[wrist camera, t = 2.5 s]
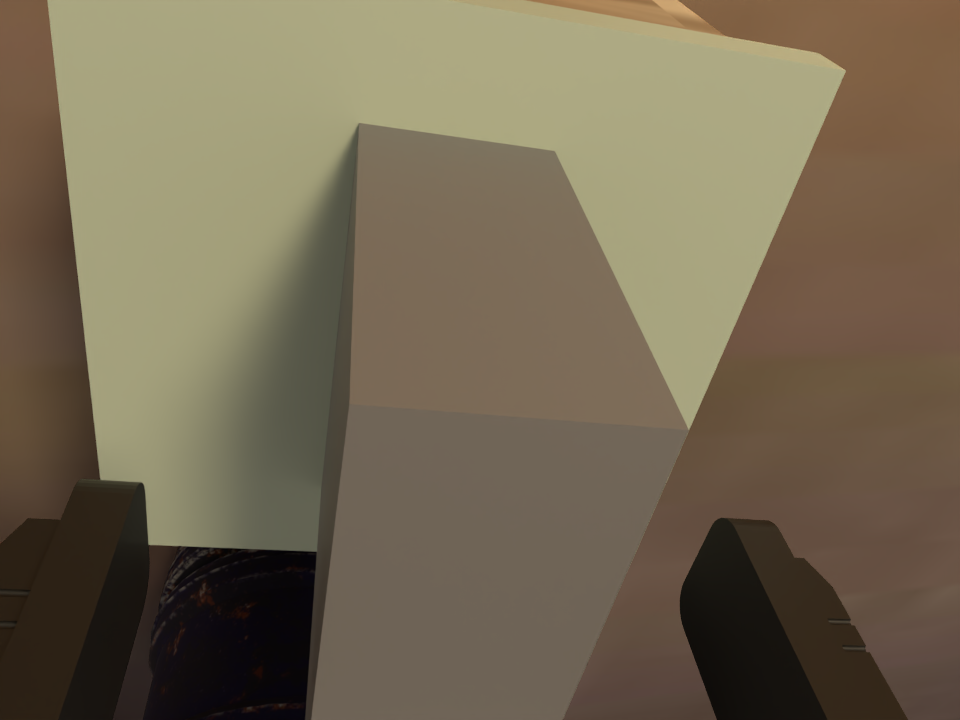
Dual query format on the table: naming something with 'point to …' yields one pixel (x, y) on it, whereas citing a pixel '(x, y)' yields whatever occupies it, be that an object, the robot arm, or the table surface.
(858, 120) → the table surface
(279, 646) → the dark blue cylinder
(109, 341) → the lid
